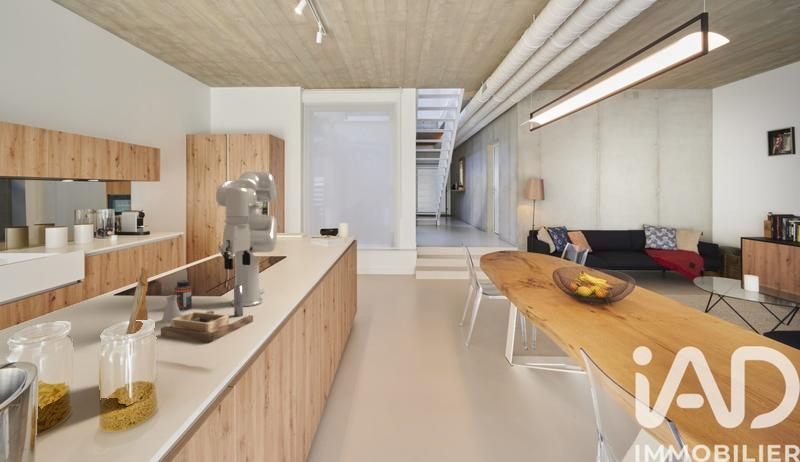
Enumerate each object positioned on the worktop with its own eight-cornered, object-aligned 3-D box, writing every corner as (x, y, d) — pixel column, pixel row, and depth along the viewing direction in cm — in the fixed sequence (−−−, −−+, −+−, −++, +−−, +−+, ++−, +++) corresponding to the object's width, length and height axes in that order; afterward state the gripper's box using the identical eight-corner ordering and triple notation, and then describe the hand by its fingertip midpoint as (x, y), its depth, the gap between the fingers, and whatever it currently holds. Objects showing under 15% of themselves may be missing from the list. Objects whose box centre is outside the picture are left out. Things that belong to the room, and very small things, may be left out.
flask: (173, 327, 128) (172, 299, 127) (155, 326, 129) (154, 298, 128) (188, 321, 135) (188, 294, 134) (172, 319, 136) (171, 293, 136)
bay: (210, 320, 136) (210, 309, 136) (253, 325, 132) (253, 314, 132) (161, 340, 116) (160, 327, 116) (209, 347, 112) (209, 334, 111)
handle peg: (237, 317, 140) (237, 284, 139) (244, 318, 139) (244, 284, 138) (232, 320, 137) (232, 286, 136) (239, 321, 136) (239, 286, 135)
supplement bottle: (171, 309, 149) (170, 281, 148) (184, 305, 154) (184, 278, 153) (181, 311, 146) (181, 283, 145) (195, 307, 152) (194, 280, 151)
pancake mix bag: (159, 369, 97) (156, 265, 95) (149, 406, 80) (145, 280, 78) (128, 374, 94) (124, 266, 92) (110, 413, 77) (105, 282, 75)
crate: (193, 325, 126) (193, 311, 126) (228, 330, 123) (228, 315, 122) (171, 334, 117) (171, 319, 117) (208, 339, 114) (208, 324, 114)
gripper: (244, 219, 144) (244, 262, 146) (211, 221, 128) (212, 270, 129) (260, 220, 142) (260, 264, 144) (229, 222, 126) (230, 271, 127)
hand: (237, 267), depth 136 cm, fingers open, 9 cm apart
